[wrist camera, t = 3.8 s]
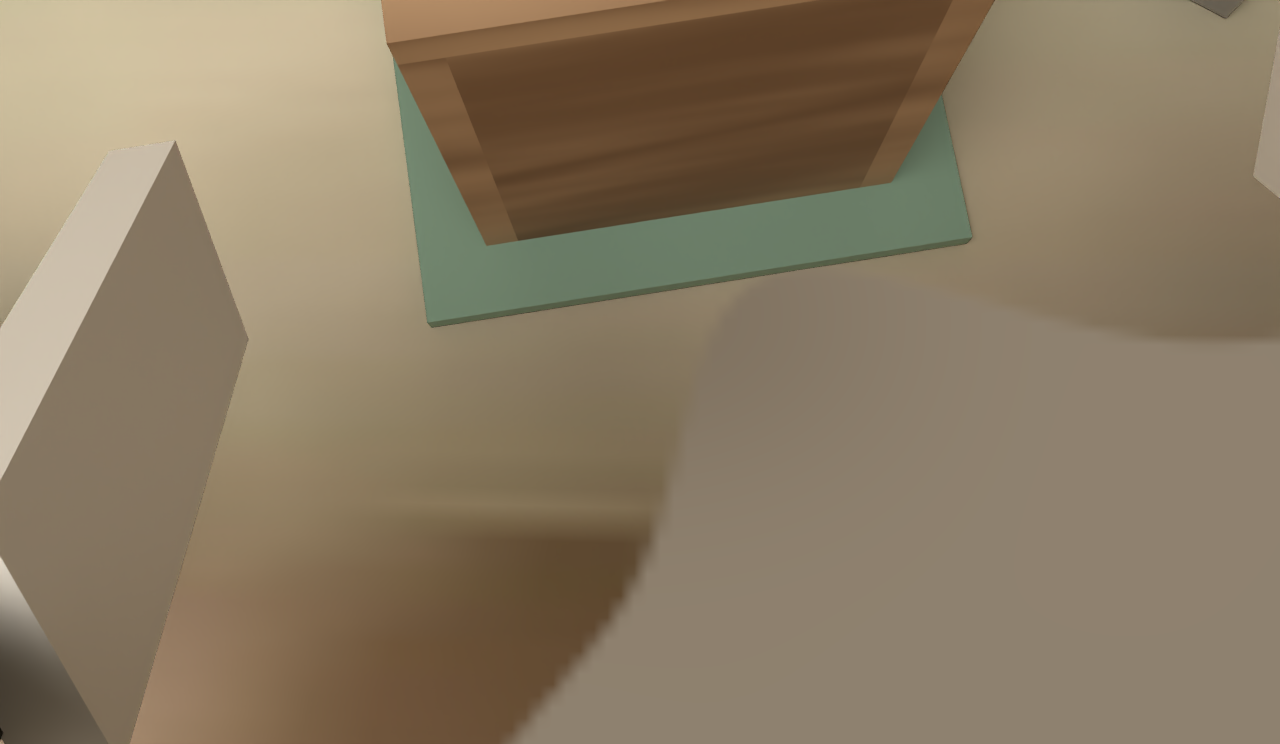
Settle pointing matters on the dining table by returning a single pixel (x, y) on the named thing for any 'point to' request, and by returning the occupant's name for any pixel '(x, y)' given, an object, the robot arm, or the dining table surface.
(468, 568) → the dining table surface
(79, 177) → the dining table surface
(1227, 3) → the board
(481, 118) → the wooden block
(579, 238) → the mat
